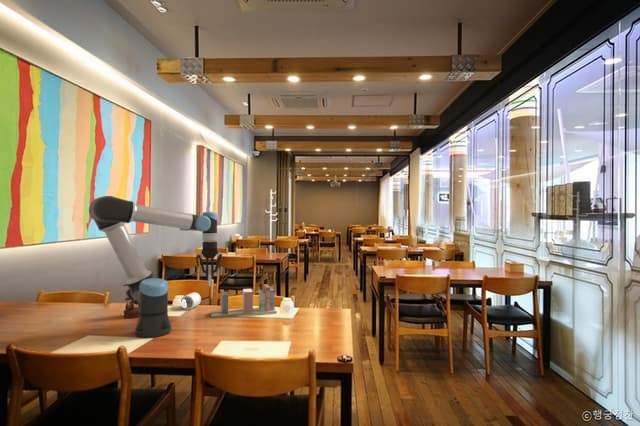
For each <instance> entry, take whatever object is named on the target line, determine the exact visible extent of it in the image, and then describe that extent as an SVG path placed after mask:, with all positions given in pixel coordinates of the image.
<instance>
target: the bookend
mask: <svg viewBox="0 0 640 426" xmlns="http://www.w3.org/2000/svg"><path fill="white" fill-rule="evenodd" d="M221 310H222V314H228V310H229V293H228V291H221Z"/></svg>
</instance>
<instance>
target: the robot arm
mask: <svg viewBox="0 0 640 426" xmlns="http://www.w3.org/2000/svg"><path fill="white" fill-rule="evenodd" d="M88 214H89V216H90V218H91V219H92V220H94V222H95V224H96V227H97V228H98V231H100V232H103V233H105V236H106V238H107V240H108V242H109V244H110V246H111V247H112V249H113V252H114V253H115V255H116V257H117V259H118V261H119V263H120V266H121V267H122V269H123V271H124V272H125V273H124V274H125V275H126V277H127V280H126V284H127V285H128V286H127V288H128V289H130V293H131V296H132V298H133V301H134V300H135V301H137V302H139V318H137V319H138V320H137V321H136V325H135V328H134V336H135V337H138V338H146V339H148V338H158V337H162V336H166V335H168V334H170V333H171V332H172V329H173V328H172V327H173V326H172V323H171V320H170V317H169V314H168V309H169V308H168V307H169V305H168V304H169V298H168V297H169V296H168V295H169V285H168V284H169V283H168V281H167V280H166V279H164V278H159V277H158V278H156V277H154V274H153V272H152V271H151V270H148V269H147V267H146V265H145V264H144V262H143V259H142V258H141V256H140V253H139V251H138V249H137V247H136V246H135V244H134V241H133V239H132V237H131V235H130V233H129V231H128V229H127V227H126V225H125V224H131V222H134V223H142V224H146V225H147V224H149V225H155V226H161V227H169V228H176V229H179V230H180V231H193V232H194V231H195V232H201V235H202V236H201V238H202V244H201V245H202V250H201V252H200V253H198V254H196V255H197V258H198V260H199V264H200V268H201V272H202V273H203V274H205V279H206V280H207V282H208V283H207V286H208V287H212V280H214V274H215V273H217V272H218V268H219V263H220V261H221V258H222V256H223V254H222V253H220V252H219V250H218V213H217V212H215V211H203V212H202V215H198V214H194V213H193V214H192V213H188V212H181V211H176V210H169V209H164V208H159V207H153V206H147V205H141V204H136V203H135V202H134V201H132V200H128V199H127V200H126V199H123V198H119V197H116V196H113V195H105V196H99V197H96V198H95V199H94V200H93V201H91V203H90V204H89V207H88ZM216 256H217V259H216V263H215V265H214V262H215V261H214V259H215V258H216ZM202 257H204V259H205V265H204V263H203V262H204V261H203V258H202ZM209 259H210V272H209ZM214 266H215V267H214Z"/></svg>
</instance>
